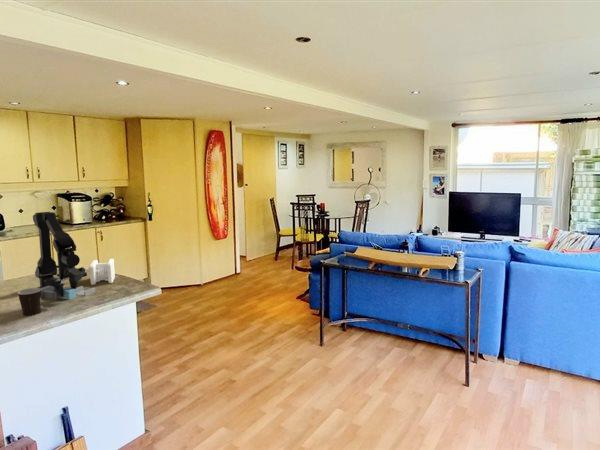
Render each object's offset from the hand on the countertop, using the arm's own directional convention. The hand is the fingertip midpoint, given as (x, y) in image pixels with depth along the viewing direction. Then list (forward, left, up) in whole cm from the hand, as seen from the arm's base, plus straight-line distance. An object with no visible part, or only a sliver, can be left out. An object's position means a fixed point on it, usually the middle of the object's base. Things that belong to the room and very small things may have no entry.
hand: (68, 295), depth 199 cm
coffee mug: (+1, -20, -2) cm, 20 cm away
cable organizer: (-6, +27, -2) cm, 28 cm away
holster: (+1, +8, -2) cm, 8 cm away
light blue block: (0, 0, -2) cm, 2 cm away
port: (-8, 0, -2) cm, 8 cm away
